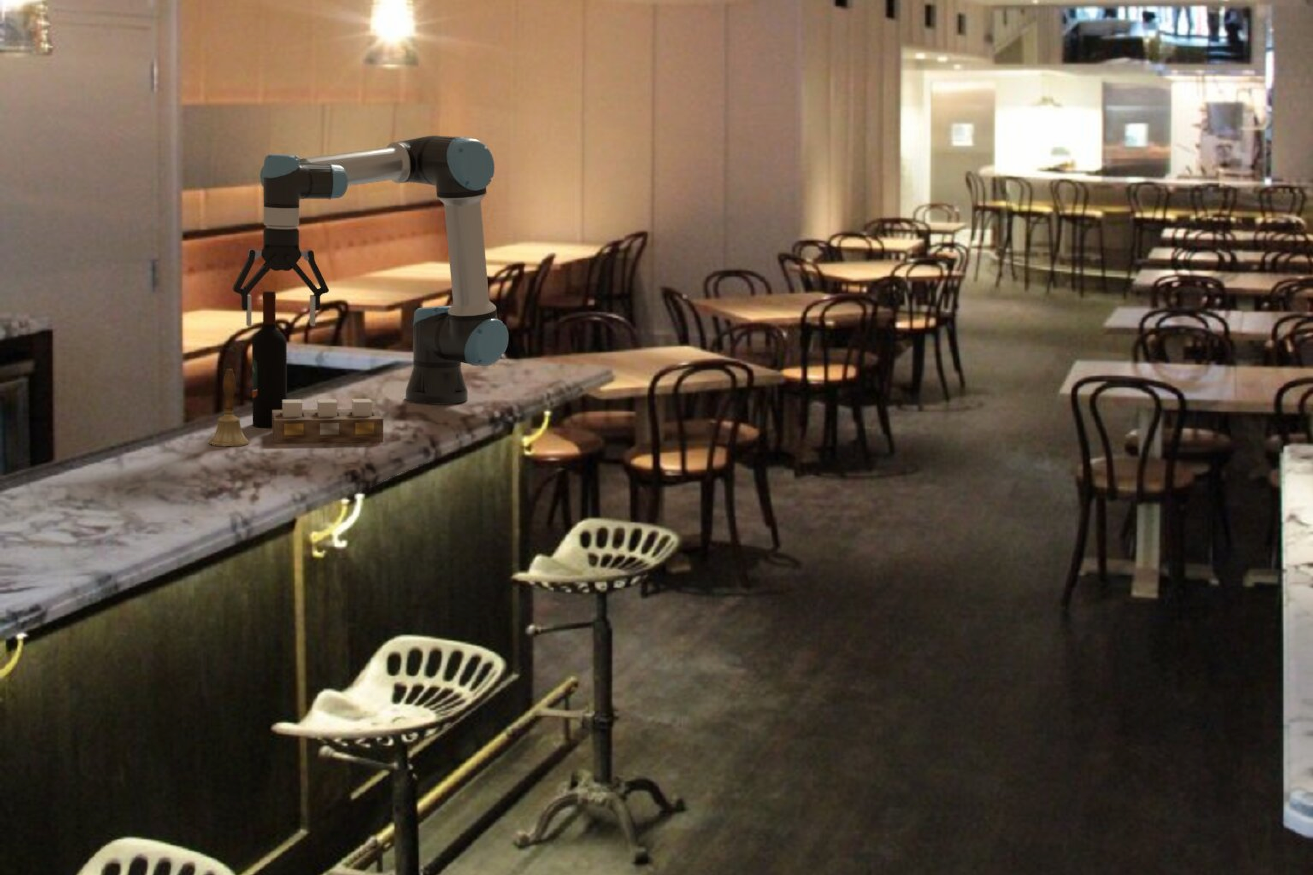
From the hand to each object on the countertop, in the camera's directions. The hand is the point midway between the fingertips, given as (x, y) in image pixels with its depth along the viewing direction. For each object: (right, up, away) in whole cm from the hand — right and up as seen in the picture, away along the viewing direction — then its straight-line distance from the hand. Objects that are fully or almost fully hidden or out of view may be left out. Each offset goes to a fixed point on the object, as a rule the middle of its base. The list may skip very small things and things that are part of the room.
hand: (280, 325), depth 391 cm
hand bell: (-10, -26, -7) cm, 28 cm away
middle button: (+10, -21, +2) cm, 23 cm away
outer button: (+2, -21, 0) cm, 21 cm away
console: (+10, -24, +3) cm, 26 cm away
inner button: (+17, -21, +4) cm, 27 cm away
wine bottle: (-5, -22, +14) cm, 26 cm away
